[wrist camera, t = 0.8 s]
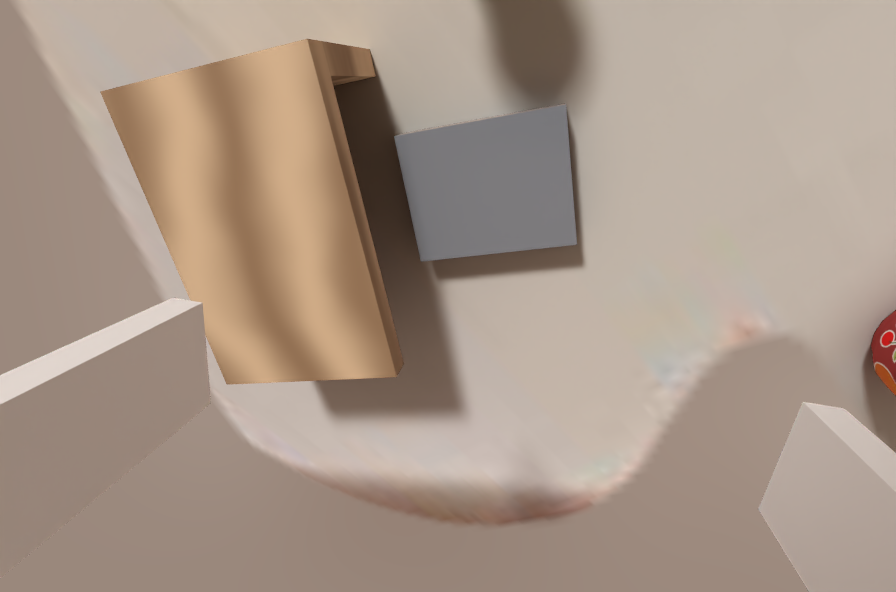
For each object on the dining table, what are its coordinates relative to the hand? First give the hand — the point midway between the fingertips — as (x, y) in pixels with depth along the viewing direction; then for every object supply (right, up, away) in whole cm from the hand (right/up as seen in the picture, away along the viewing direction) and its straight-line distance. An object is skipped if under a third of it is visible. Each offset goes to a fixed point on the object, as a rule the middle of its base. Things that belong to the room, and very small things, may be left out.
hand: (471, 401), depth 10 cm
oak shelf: (-9, +8, +23) cm, 26 cm away
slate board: (+2, +10, +20) cm, 22 cm away
